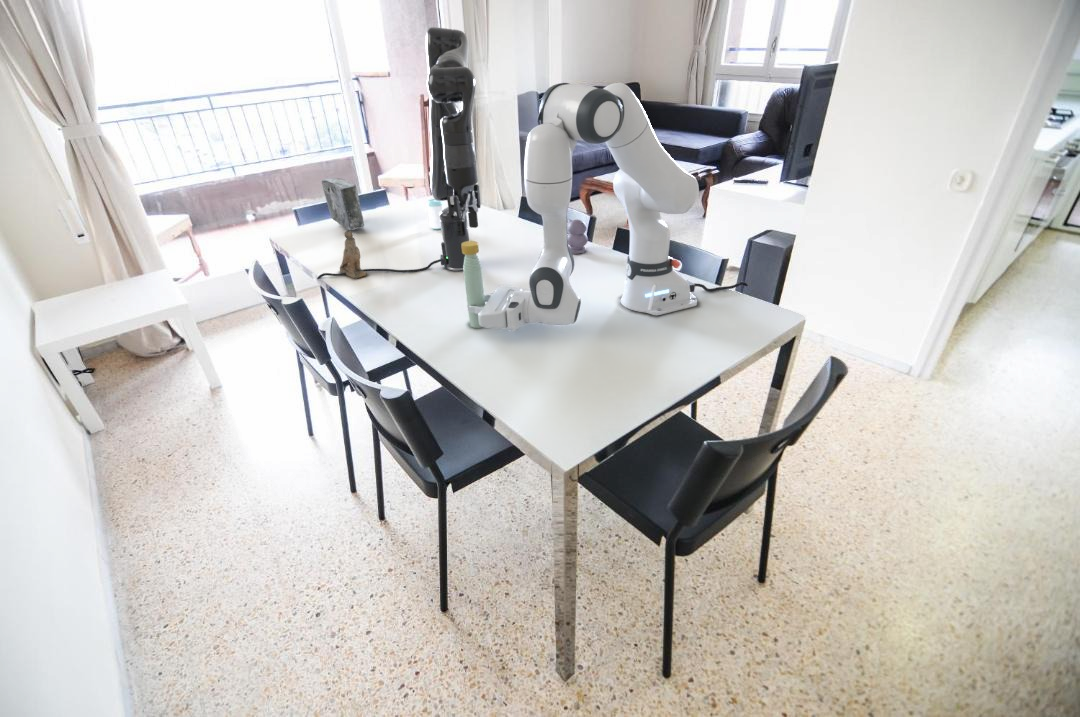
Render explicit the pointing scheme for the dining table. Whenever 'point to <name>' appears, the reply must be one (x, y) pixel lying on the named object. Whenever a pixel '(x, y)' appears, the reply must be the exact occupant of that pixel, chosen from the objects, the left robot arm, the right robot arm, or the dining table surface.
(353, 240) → the brown carved statuette
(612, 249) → the dining table surface
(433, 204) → the white lidded cup
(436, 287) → the dining table surface
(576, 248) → the cat figurine
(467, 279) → the bottle
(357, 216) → the concrete block
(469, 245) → the cap
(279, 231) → the dining table surface
